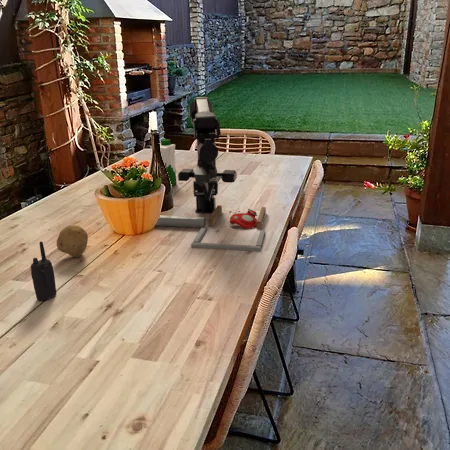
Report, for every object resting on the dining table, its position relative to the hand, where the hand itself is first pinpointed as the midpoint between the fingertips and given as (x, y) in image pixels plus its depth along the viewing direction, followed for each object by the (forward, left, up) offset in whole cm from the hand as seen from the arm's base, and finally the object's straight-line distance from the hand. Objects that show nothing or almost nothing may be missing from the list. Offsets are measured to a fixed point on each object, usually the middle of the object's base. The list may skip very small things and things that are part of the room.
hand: (208, 200), depth 159 cm
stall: (+9, +9, -10) cm, 16 cm away
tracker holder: (+12, +6, -10) cm, 17 cm away
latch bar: (-10, 0, -10) cm, 14 cm away
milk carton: (-30, +47, -10) cm, 57 cm away
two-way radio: (-30, -53, -10) cm, 62 cm away
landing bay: (+9, -10, -10) cm, 16 cm away
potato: (-35, -29, -10) cm, 47 cm away
